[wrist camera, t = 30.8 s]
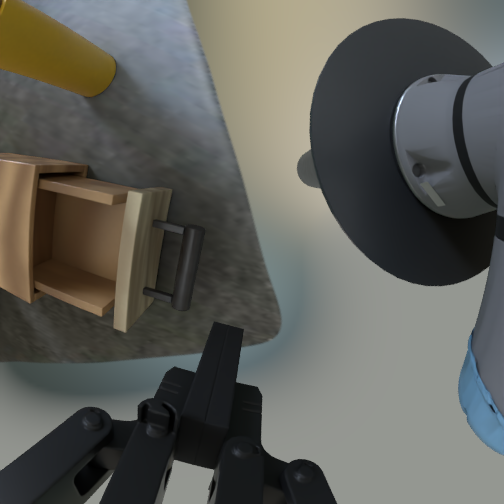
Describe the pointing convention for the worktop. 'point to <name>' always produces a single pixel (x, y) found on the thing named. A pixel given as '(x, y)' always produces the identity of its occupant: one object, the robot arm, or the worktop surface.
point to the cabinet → (23, 217)
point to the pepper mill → (51, 51)
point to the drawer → (108, 246)
